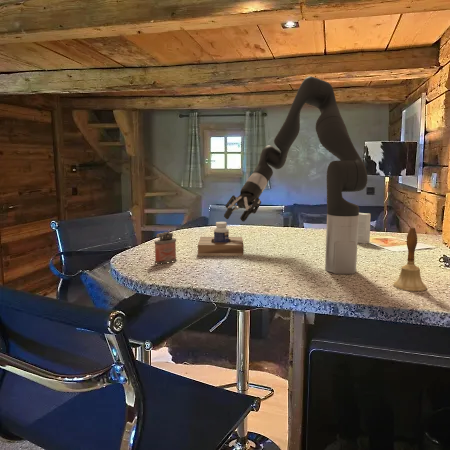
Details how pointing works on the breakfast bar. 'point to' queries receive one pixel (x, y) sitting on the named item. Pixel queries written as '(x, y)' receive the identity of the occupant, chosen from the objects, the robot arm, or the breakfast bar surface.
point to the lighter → (165, 248)
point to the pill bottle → (221, 233)
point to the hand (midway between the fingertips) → (233, 219)
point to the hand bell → (410, 268)
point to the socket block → (220, 247)
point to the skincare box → (364, 228)
